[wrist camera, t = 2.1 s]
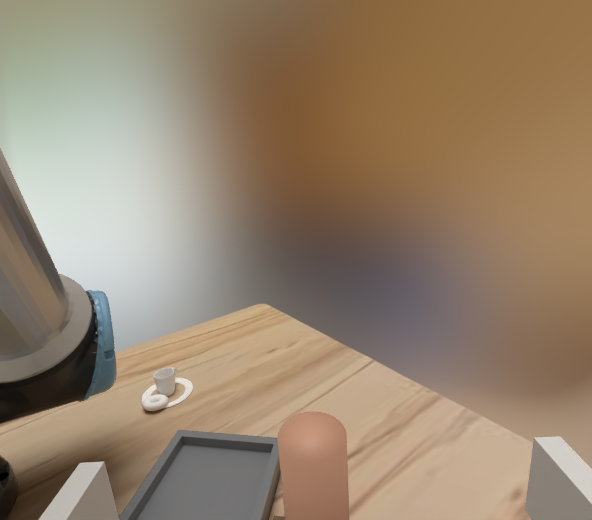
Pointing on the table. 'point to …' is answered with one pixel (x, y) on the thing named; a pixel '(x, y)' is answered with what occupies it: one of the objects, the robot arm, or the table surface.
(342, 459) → the dowel
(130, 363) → the table surface
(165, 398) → the teacup and saucer
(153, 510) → the tray
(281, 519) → the socket block
